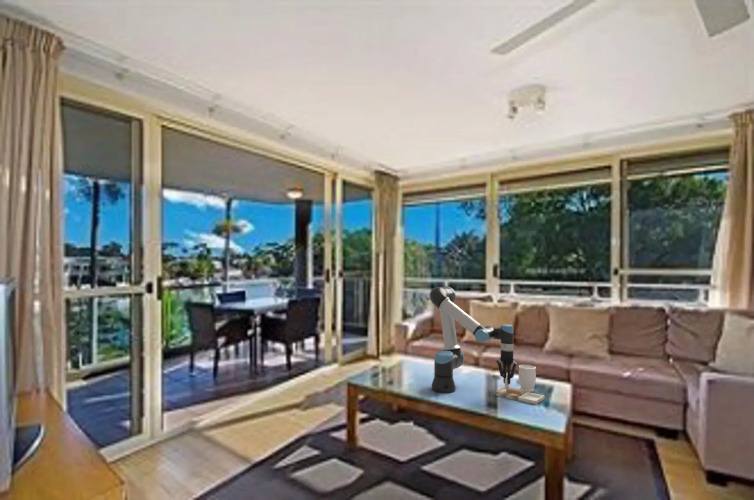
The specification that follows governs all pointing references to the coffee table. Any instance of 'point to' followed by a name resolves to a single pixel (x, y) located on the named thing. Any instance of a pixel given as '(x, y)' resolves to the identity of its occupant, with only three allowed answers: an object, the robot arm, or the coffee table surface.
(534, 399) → the tray
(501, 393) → the board
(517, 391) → the tile front
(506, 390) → the tile rear
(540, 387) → the coffee table surface
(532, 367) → the jar
